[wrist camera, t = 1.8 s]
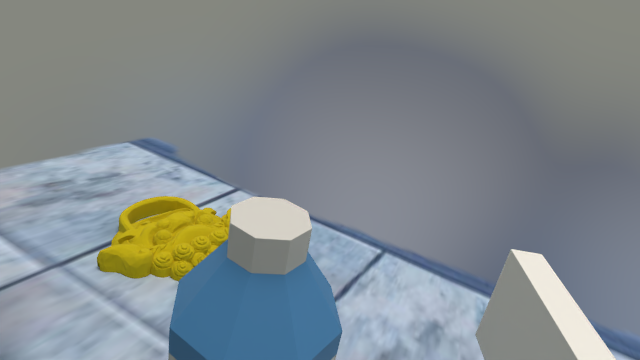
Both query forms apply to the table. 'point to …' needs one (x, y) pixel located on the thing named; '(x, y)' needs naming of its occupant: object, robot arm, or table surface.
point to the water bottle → (257, 293)
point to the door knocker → (163, 238)
